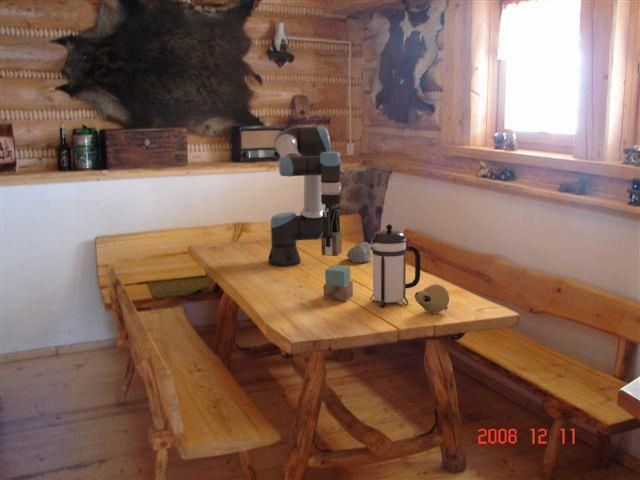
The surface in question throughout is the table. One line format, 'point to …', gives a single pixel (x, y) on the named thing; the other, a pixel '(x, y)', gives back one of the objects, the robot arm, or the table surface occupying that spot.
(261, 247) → the table surface
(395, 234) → the coffee press
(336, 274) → the tower top
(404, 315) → the table surface
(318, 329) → the table surface
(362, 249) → the decorative stone
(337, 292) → the tower base
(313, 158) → the robot arm
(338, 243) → the walnut block
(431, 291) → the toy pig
